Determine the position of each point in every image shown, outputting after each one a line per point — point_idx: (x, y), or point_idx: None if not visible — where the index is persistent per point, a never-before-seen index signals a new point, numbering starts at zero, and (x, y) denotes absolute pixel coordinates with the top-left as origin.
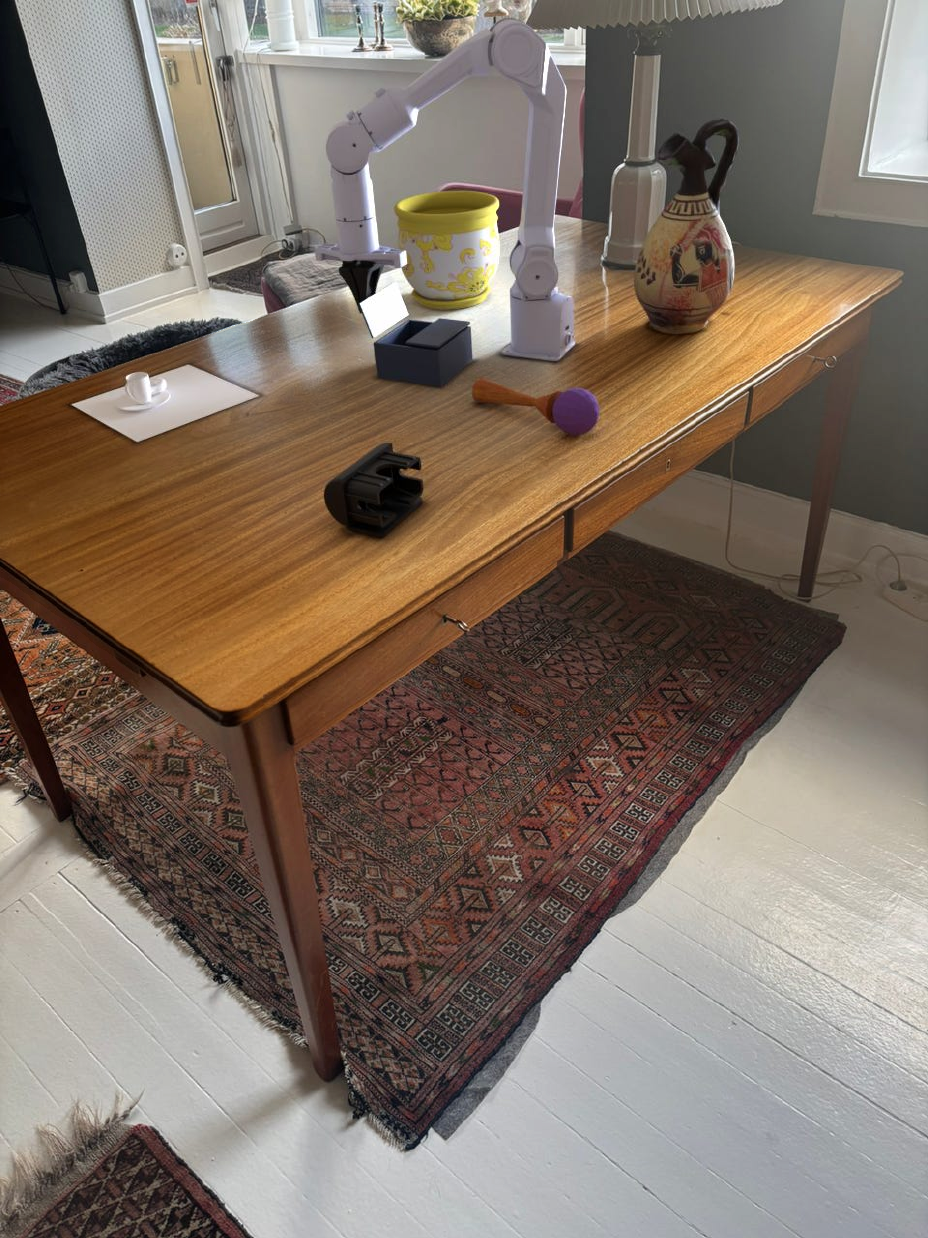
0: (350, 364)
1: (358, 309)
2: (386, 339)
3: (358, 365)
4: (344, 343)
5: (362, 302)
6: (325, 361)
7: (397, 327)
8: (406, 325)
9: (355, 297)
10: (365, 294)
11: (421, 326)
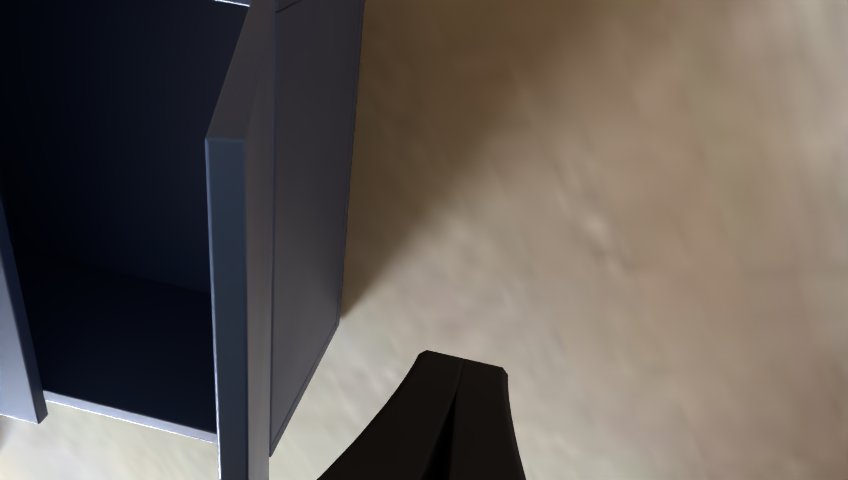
0: (634, 147)
1: (501, 384)
2: None
3: (574, 137)
4: (765, 433)
5: (207, 196)
6: (832, 178)
7: None
8: None
9: (495, 472)
10: (327, 472)
11: (188, 400)
